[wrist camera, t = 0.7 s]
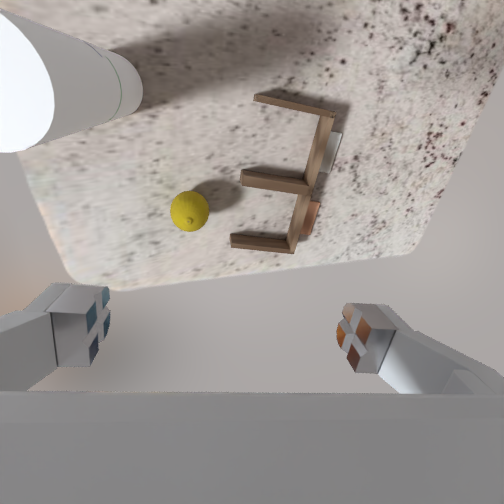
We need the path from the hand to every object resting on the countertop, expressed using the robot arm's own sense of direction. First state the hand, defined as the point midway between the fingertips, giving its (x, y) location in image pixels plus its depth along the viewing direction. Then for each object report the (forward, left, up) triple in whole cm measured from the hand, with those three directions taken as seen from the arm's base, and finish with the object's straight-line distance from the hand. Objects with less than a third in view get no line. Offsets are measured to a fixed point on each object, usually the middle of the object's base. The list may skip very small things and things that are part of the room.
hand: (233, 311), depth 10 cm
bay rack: (+4, +12, -36) cm, 38 cm away
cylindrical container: (-5, -13, -37) cm, 39 cm away
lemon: (+9, -2, -37) cm, 38 cm away
